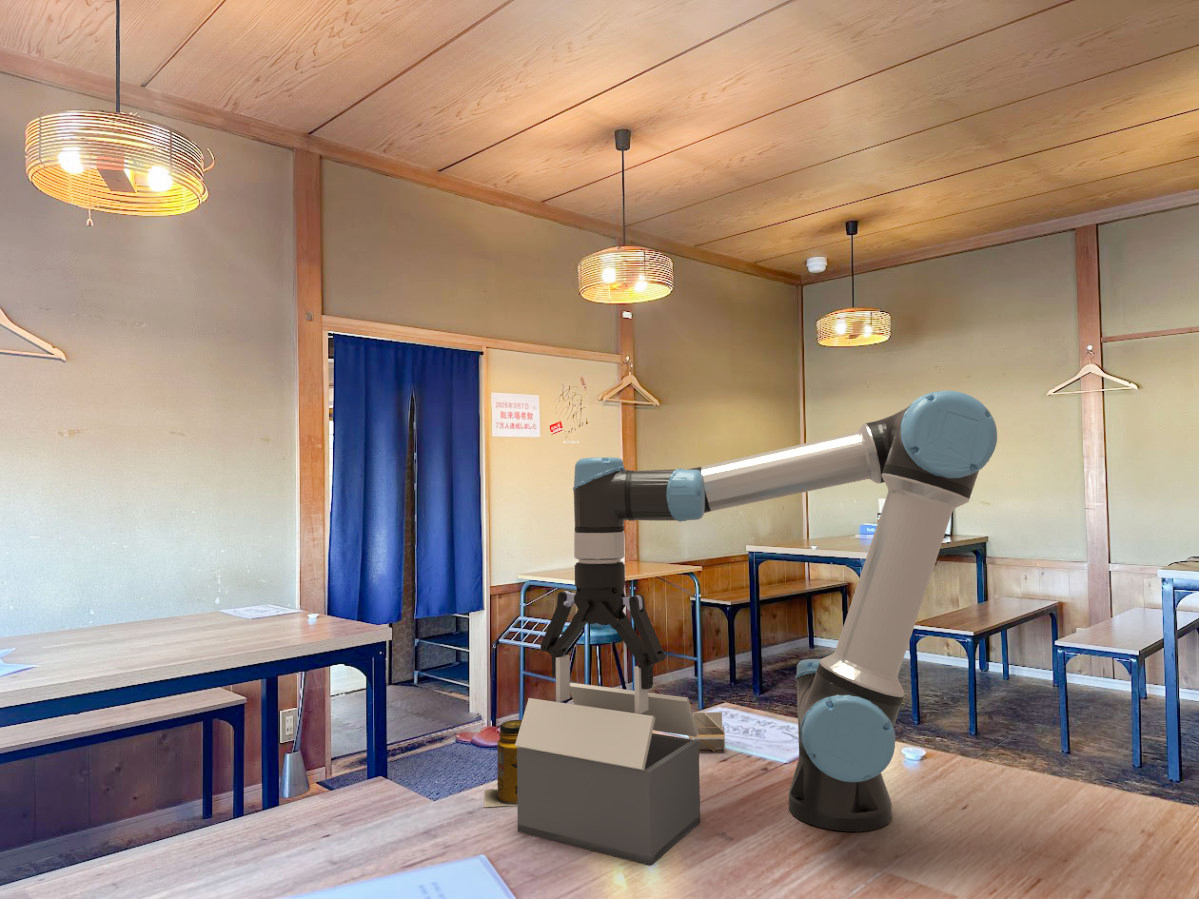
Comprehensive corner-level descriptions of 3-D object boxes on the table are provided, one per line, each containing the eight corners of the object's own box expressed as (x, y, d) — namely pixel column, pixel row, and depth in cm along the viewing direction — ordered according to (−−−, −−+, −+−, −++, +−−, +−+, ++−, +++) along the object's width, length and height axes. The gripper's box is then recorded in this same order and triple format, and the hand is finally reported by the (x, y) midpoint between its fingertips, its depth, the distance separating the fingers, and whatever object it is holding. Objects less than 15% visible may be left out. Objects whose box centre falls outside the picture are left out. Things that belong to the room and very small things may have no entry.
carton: (700, 822, 117) (698, 740, 118) (650, 865, 103) (649, 772, 104) (576, 795, 128) (576, 721, 129) (517, 831, 115) (517, 747, 116)
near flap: (655, 717, 107) (653, 715, 107) (644, 770, 104) (641, 769, 104) (531, 699, 118) (528, 697, 118) (517, 747, 115) (514, 745, 114)
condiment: (537, 805, 125) (537, 728, 126) (484, 808, 124) (484, 731, 125) (535, 788, 132) (534, 716, 133) (484, 791, 131) (484, 718, 132)
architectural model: (726, 756, 149) (725, 716, 149) (689, 757, 149) (688, 717, 149) (723, 751, 152) (722, 712, 152) (688, 751, 152) (687, 712, 153)
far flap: (696, 737, 119) (698, 733, 119) (686, 701, 116) (688, 697, 117) (580, 718, 129) (582, 715, 130) (568, 685, 127) (570, 682, 127)
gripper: (686, 561, 114) (689, 710, 112) (546, 556, 127) (546, 690, 125) (662, 565, 107) (665, 723, 106) (517, 560, 120) (518, 700, 119)
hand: (601, 705), depth 116 cm, fingers open, 13 cm apart
